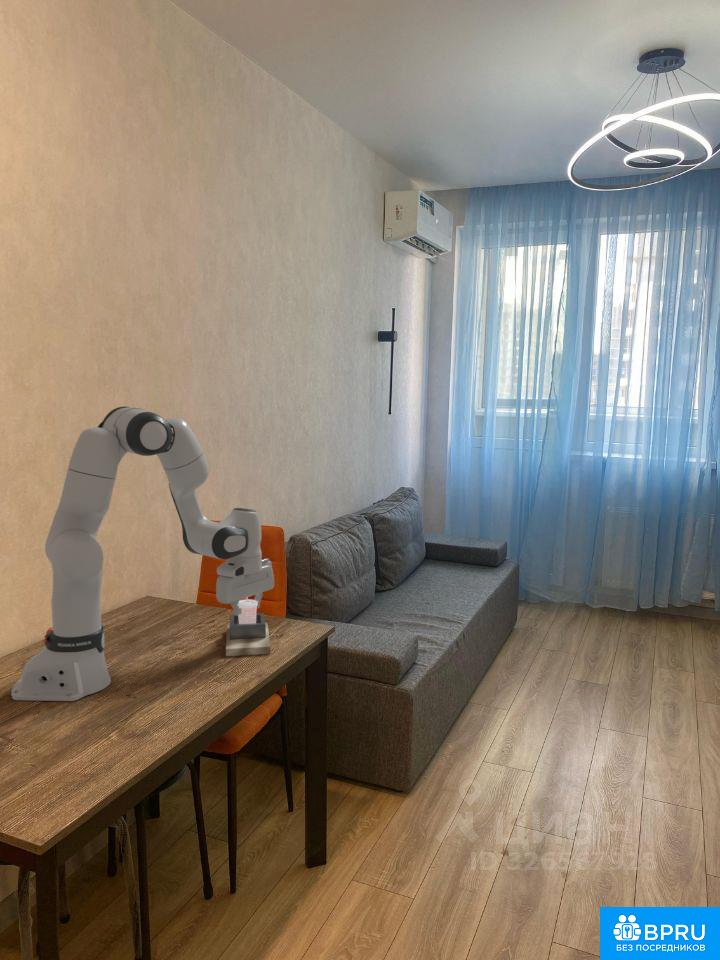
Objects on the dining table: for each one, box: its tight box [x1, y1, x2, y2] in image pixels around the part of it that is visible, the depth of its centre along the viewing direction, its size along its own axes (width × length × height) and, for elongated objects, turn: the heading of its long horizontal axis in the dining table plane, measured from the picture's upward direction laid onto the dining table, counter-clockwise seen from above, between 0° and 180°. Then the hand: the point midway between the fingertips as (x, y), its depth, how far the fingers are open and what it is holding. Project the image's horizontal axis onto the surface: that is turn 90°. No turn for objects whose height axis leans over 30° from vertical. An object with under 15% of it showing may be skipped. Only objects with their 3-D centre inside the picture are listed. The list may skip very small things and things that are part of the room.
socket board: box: [225, 622, 272, 657], centre depth 214 cm, size 12×20×2 cm, turn 9°
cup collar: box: [229, 612, 266, 640], centre depth 215 cm, size 10×10×4 cm
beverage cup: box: [238, 597, 258, 624], centre depth 215 cm, size 6×6×14 cm
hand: (246, 611), depth 215 cm, fingers closed on beverage cup, 6 cm apart
